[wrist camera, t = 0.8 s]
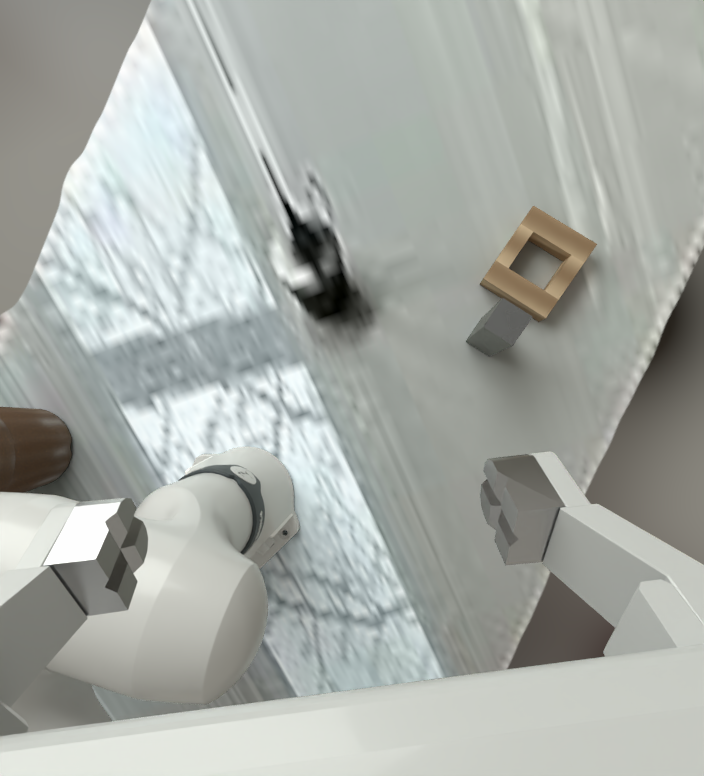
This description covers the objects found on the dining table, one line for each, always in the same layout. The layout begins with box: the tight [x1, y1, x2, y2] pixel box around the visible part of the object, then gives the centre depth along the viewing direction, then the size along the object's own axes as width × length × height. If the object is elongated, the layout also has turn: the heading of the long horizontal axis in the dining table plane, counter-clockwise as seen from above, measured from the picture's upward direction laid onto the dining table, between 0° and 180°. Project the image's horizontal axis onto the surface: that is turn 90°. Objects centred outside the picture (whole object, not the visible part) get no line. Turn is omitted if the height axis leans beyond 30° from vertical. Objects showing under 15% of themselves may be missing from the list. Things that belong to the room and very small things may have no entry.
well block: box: [480, 206, 597, 322], centre depth 62 cm, size 12×10×3 cm
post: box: [466, 298, 533, 356], centre depth 58 cm, size 4×4×13 cm
